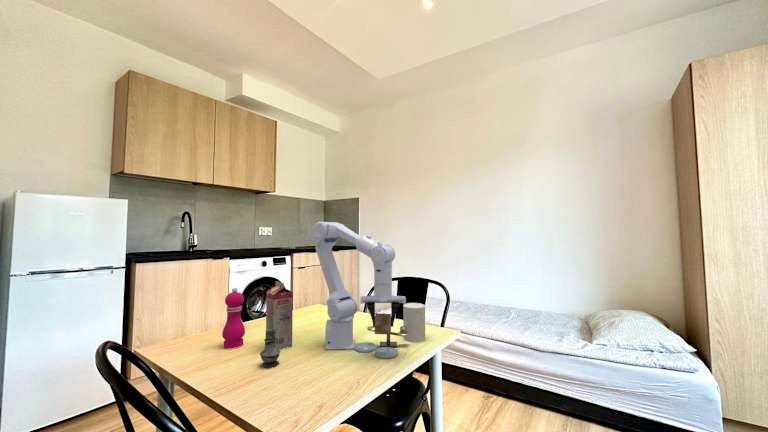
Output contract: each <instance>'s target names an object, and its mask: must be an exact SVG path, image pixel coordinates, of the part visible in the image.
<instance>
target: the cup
mask: <svg viewBox="0 0 768 432" xmlns="http://www.w3.org/2000/svg"><path fill="white" fill-rule="evenodd" d="M402 306H403V307H402V308H403V309H402V310H403V311H402V312H403V315H402V316H403V320H402V321H403V322H402V323H403V325H402V326H406V327H407V332H409V336H404V337H403V339H404V340H405V341H407V342H410V343H411V342H413V343H417V342H418V343H419V342H423V341H425V340H426V305H425V304H423V303H421V302H420V303H419V302H406V303H403V305H402Z"/></svg>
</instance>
